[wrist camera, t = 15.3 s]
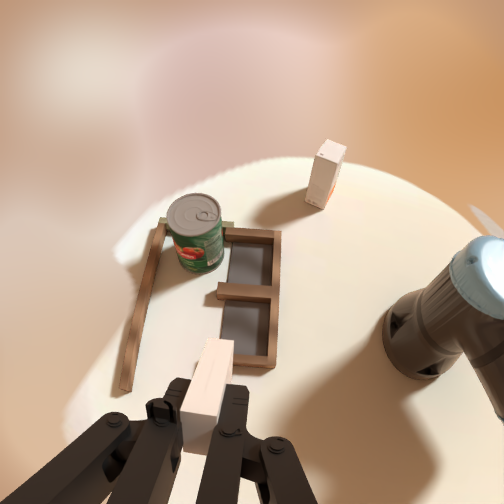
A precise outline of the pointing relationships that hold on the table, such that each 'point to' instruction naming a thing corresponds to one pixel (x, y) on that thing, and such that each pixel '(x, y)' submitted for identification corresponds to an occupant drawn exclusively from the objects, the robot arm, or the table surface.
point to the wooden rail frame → (227, 298)
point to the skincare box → (325, 173)
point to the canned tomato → (197, 232)
